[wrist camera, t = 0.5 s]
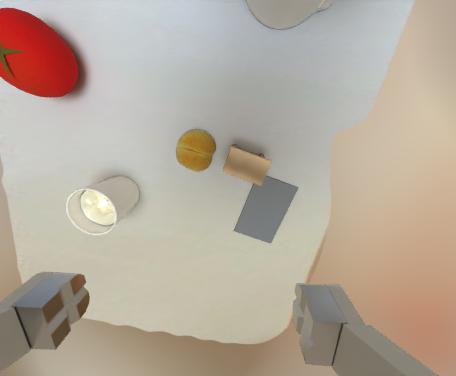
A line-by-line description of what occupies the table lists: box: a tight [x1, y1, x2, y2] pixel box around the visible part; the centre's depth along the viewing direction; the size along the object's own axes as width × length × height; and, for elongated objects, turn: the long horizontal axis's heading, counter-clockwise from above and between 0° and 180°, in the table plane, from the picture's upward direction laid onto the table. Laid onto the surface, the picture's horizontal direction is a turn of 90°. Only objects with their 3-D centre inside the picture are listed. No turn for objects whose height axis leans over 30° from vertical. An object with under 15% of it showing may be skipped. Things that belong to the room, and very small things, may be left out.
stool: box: [222, 144, 271, 186], centre depth 44 cm, size 5×8×8 cm, turn 70°
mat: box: [234, 176, 298, 243], centre depth 51 cm, size 16×10×1 cm, turn 160°
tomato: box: [0, 8, 79, 97], centre depth 38 cm, size 12×14×11 cm
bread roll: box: [176, 130, 216, 172], centre depth 46 cm, size 8×9×4 cm
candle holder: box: [66, 176, 140, 235], centre depth 46 cm, size 10×10×12 cm
